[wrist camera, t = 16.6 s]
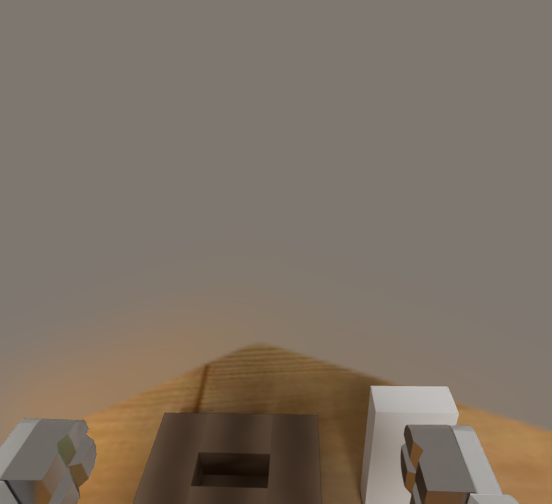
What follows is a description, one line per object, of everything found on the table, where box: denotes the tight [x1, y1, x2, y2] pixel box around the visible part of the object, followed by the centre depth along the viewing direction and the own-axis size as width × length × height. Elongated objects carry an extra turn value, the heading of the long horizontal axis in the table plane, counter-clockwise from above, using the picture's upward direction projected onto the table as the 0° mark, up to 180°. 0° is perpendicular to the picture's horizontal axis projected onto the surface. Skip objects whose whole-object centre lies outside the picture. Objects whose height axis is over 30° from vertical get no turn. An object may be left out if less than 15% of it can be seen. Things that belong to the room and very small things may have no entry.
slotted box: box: [133, 413, 322, 504], centre depth 37 cm, size 16×12×4 cm
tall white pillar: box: [360, 386, 459, 504], centre depth 34 cm, size 6×2×14 cm, turn 87°
